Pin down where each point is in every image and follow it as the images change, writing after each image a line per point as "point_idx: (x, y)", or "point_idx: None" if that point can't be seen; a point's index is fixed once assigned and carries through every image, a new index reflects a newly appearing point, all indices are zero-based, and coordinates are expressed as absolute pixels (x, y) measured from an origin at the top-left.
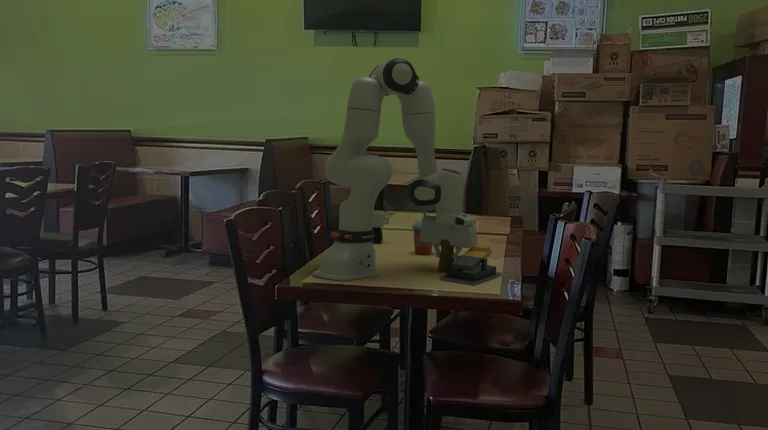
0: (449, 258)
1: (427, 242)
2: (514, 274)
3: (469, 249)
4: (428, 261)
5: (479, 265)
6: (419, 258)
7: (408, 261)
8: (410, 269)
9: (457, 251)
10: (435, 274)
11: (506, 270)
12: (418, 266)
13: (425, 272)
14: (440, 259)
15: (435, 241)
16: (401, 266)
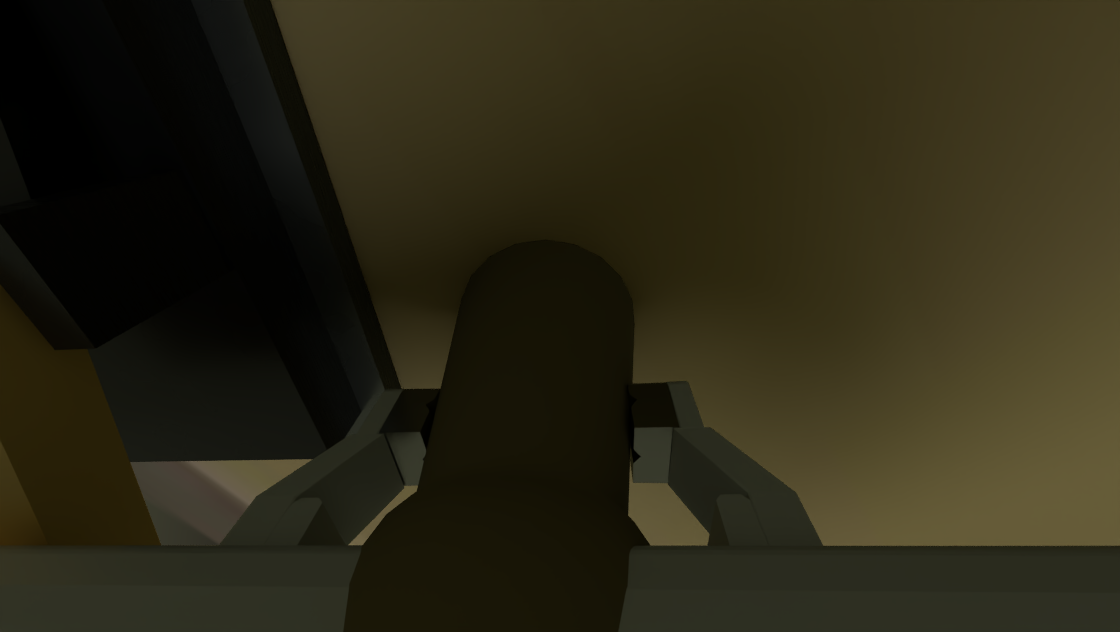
0: (450, 365)
1: (1006, 546)
2: (164, 507)
3: (40, 541)
4: (853, 501)
5: (159, 407)
6: (958, 538)
7: (1038, 413)
8: (920, 60)
9: (295, 476)
10: (492, 32)
11: None
12: (873, 292)
13: (660, 43)
14: (581, 327)
15: (781, 597)
16: (1091, 146)
